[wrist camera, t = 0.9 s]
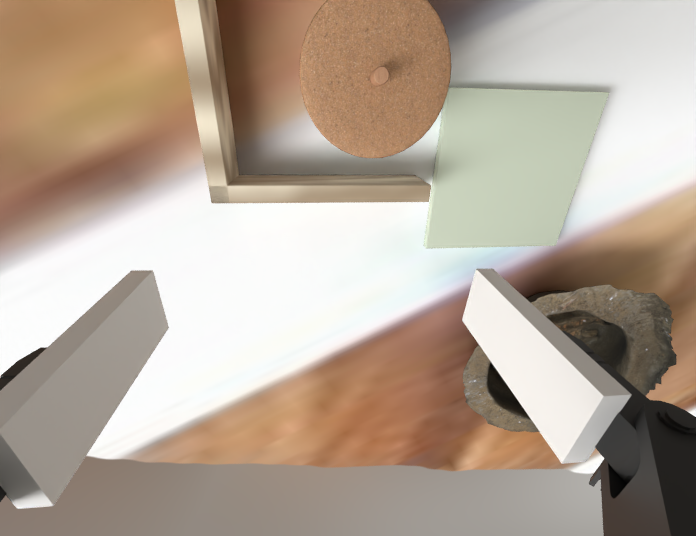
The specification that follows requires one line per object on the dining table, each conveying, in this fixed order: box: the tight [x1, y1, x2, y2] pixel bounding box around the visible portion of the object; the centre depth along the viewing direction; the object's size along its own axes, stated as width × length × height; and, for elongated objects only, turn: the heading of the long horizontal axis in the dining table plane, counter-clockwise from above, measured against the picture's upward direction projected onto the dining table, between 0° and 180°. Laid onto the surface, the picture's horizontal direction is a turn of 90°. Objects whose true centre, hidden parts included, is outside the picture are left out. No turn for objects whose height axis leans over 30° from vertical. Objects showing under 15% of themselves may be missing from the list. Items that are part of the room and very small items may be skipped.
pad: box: [424, 87, 609, 248], centre depth 33 cm, size 16×16×1 cm
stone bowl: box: [463, 285, 677, 432], centre depth 41 cm, size 25×25×9 cm
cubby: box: [175, 0, 431, 203], centre depth 26 cm, size 19×20×5 cm
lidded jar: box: [300, 0, 451, 158], centre depth 24 cm, size 11×11×9 cm
